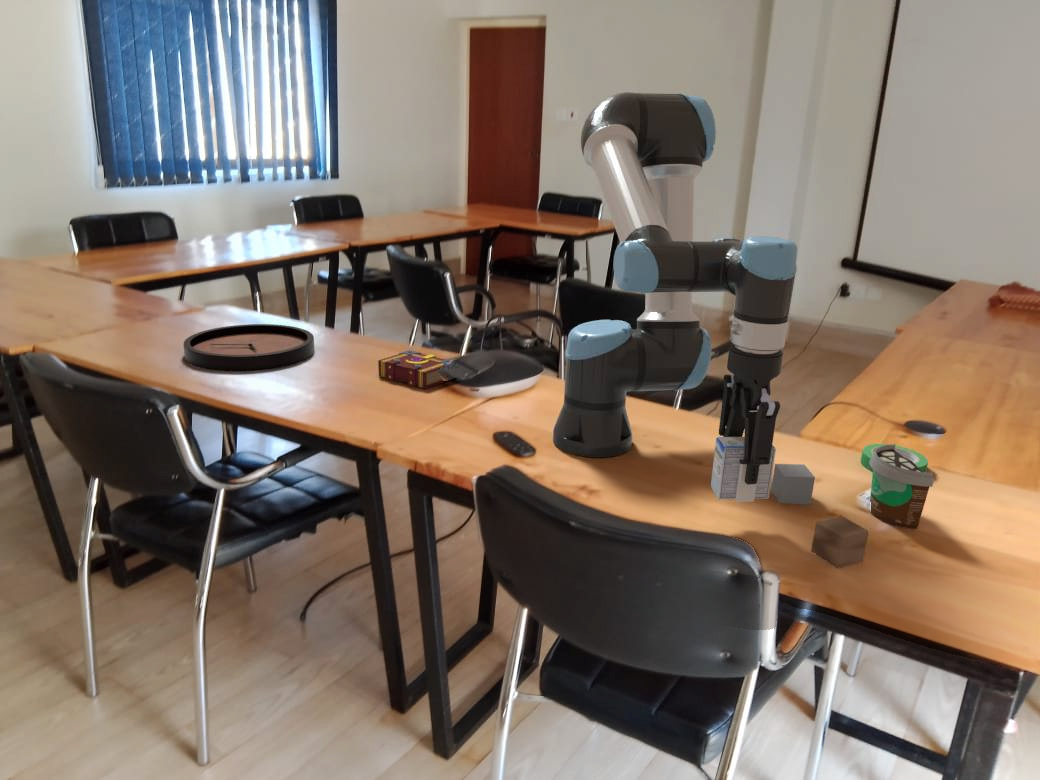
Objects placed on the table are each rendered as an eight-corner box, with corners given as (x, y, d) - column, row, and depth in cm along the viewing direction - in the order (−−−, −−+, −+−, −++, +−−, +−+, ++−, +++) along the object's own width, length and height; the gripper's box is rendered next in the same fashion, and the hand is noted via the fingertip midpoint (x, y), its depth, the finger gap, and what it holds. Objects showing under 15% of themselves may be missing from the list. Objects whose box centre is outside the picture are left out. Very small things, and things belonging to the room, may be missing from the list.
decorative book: (425, 391, 182) (425, 370, 180) (373, 376, 191) (373, 356, 189) (457, 379, 191) (457, 359, 189) (406, 366, 200) (406, 346, 198)
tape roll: (920, 461, 152) (922, 448, 152) (930, 484, 142) (933, 470, 142) (857, 452, 155) (859, 439, 155) (863, 475, 145) (865, 461, 144)
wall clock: (338, 333, 212) (257, 363, 185) (339, 348, 213) (258, 380, 186) (244, 318, 223) (154, 345, 196) (245, 332, 225) (156, 361, 197)
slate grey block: (771, 490, 138) (775, 463, 136) (800, 491, 138) (804, 464, 136) (780, 503, 133) (784, 476, 131) (810, 504, 133) (815, 477, 131)
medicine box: (759, 487, 126) (766, 435, 123) (769, 500, 122) (776, 447, 119) (709, 487, 126) (715, 435, 123) (718, 500, 121) (724, 447, 119)
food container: (847, 497, 136) (857, 442, 132) (883, 497, 136) (893, 442, 133) (884, 533, 124) (895, 474, 121) (922, 533, 124) (935, 474, 121)
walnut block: (811, 552, 118) (816, 521, 117) (835, 545, 120) (841, 515, 119) (837, 568, 114) (843, 537, 112) (862, 561, 116) (868, 530, 114)
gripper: (707, 330, 124) (691, 469, 131) (761, 366, 107) (739, 522, 115) (752, 329, 125) (734, 466, 133) (812, 364, 108) (787, 518, 116)
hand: (736, 492), depth 124 cm, fingers closed on medicine box, 5 cm apart
